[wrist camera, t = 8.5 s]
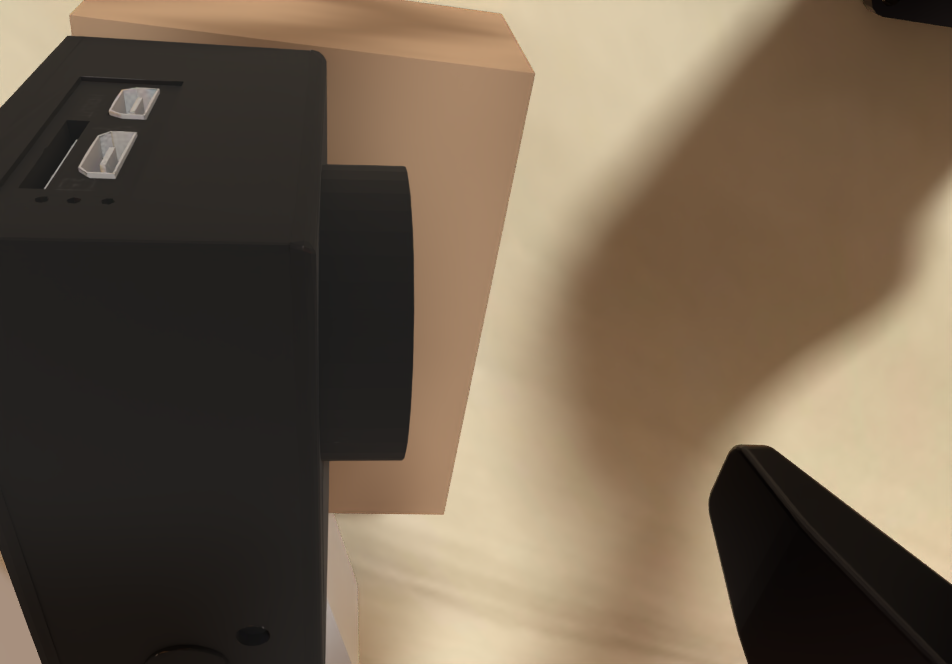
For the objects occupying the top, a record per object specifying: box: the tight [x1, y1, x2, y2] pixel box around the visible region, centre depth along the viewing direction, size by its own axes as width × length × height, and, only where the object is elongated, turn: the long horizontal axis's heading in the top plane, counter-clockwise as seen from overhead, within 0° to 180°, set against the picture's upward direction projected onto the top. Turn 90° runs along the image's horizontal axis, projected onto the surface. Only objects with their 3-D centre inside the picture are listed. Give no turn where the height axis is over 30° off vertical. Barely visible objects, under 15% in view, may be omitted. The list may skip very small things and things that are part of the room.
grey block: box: [325, 513, 359, 664], centre depth 26 cm, size 5×5×4 cm
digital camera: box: [0, 36, 414, 664], centre depth 14 cm, size 10×5×7 cm, turn 174°
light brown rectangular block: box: [70, 0, 535, 515], centre depth 19 cm, size 8×12×4 cm, turn 171°
